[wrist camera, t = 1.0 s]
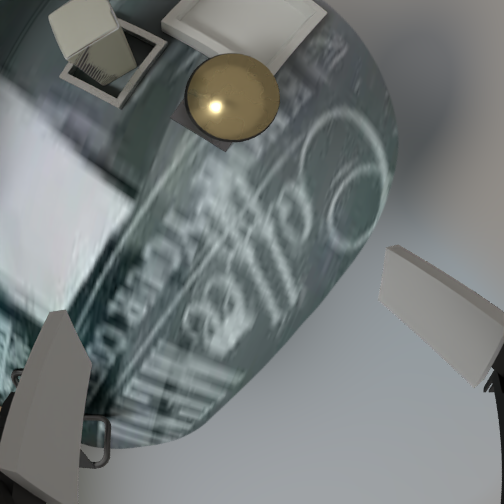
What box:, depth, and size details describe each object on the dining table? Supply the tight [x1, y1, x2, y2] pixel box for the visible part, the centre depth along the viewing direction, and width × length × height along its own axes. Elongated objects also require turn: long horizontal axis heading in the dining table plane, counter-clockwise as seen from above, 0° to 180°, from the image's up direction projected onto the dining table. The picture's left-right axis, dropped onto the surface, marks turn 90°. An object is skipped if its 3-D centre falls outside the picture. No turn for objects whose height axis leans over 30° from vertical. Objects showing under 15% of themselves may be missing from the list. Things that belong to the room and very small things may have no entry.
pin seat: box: [59, 18, 167, 109], centre depth 22 cm, size 8×8×2 cm
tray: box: [161, 0, 327, 76], centre depth 23 cm, size 13×13×3 cm
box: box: [48, 0, 137, 86], centre depth 17 cm, size 5×4×13 cm
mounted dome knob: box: [170, 53, 280, 152], centre depth 23 cm, size 7×7×10 cm
